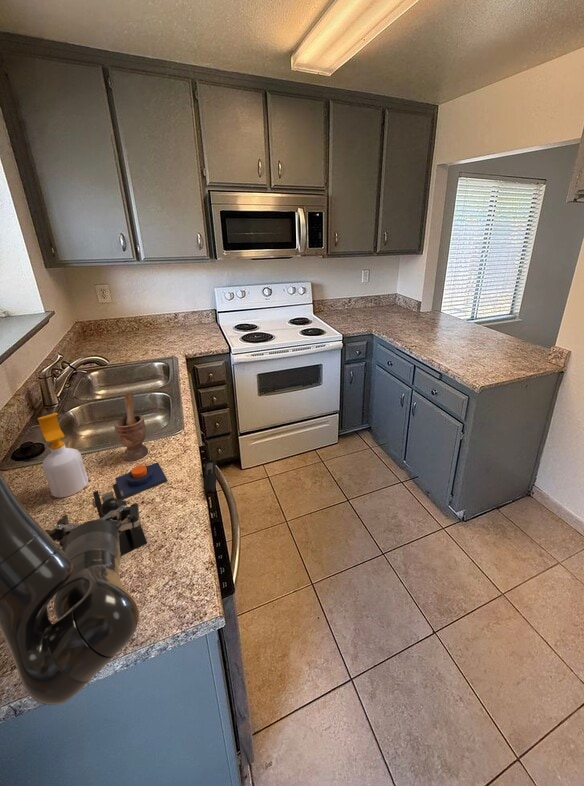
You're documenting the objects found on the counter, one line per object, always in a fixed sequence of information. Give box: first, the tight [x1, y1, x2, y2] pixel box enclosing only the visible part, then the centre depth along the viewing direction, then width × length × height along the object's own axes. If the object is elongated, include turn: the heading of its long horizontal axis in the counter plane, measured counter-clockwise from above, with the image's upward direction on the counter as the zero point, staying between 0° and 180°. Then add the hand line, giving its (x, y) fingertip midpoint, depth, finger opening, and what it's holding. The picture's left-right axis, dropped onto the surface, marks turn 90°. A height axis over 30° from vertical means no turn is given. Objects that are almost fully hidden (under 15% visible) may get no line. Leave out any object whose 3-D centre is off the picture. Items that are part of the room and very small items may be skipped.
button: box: [130, 464, 147, 479], centre depth 105 cm, size 4×4×2 cm
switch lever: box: [100, 490, 118, 516], centre depth 78 cm, size 13×4×4 cm, turn 37°
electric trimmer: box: [203, 458, 218, 495], centre depth 107 cm, size 4×16×3 cm, turn 16°
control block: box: [114, 462, 168, 501], centre depth 105 cm, size 12×10×4 cm
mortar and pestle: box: [113, 392, 149, 462], centre depth 118 cm, size 12×9×20 cm
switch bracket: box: [92, 482, 148, 557], centre depth 84 cm, size 12×10×15 cm
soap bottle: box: [37, 412, 89, 498], centre depth 101 cm, size 9×9×25 cm
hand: (93, 511), depth 66 cm, fingers open, 8 cm apart
